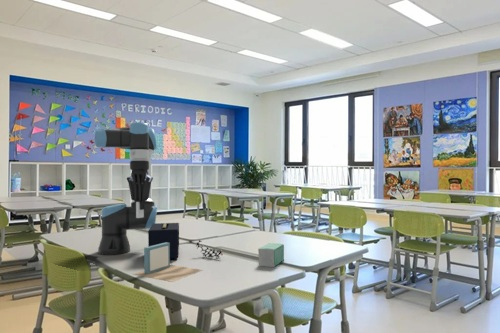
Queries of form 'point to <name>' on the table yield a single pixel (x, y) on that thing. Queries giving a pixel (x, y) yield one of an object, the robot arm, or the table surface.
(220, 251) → the molecular model
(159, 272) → the mat
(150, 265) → the tile
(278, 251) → the box
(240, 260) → the table surface
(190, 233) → the table surface
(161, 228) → the speaker
